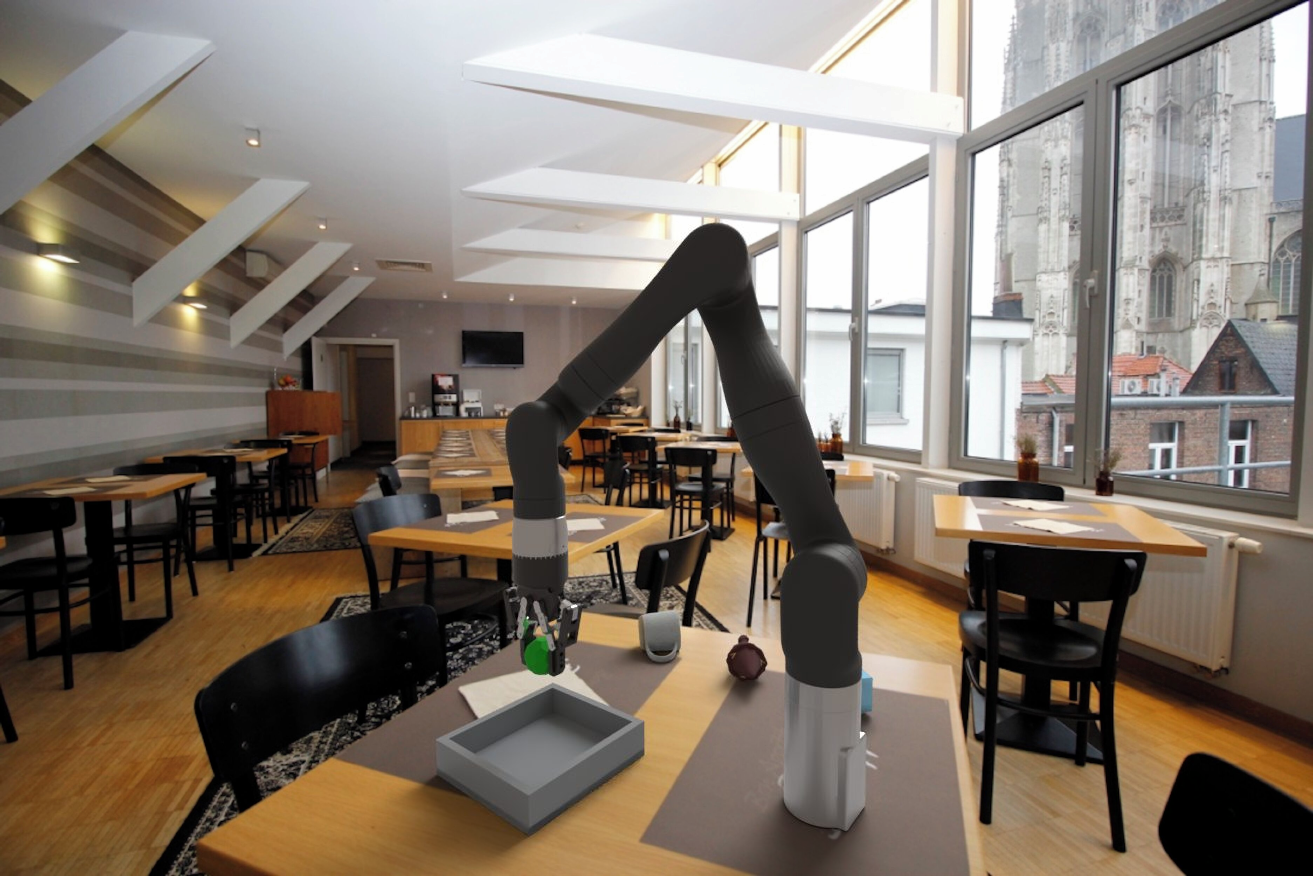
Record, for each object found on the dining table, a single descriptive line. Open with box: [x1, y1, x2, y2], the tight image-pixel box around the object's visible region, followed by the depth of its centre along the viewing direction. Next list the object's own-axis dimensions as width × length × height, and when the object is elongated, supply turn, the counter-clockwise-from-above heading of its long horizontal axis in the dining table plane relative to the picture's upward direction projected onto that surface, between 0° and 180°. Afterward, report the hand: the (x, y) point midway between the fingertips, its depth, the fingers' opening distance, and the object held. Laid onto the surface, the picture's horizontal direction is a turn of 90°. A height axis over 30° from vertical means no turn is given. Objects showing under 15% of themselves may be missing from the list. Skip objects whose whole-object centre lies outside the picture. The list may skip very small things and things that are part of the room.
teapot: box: [861, 668, 874, 715], centre depth 105 cm, size 12×6×8 cm, turn 11°
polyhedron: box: [524, 636, 549, 676], centre depth 87 cm, size 5×5×5 cm
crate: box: [435, 682, 646, 837], centre depth 88 cm, size 19×21×5 cm
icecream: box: [725, 634, 768, 682], centre depth 114 cm, size 7×7×15 cm
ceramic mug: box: [637, 609, 682, 663], centre depth 126 cm, size 11×8×8 cm
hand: (542, 668), depth 87 cm, fingers closed on polyhedron, 5 cm apart
